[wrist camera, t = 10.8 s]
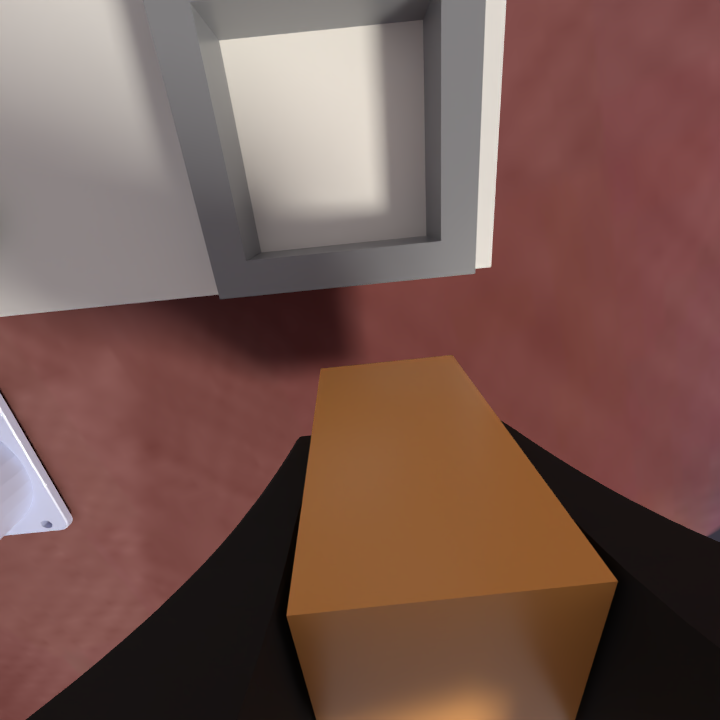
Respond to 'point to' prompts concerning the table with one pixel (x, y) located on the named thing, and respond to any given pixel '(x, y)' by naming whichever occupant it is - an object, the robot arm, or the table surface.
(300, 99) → the panel
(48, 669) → the table surface
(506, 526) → the orange rectangular block
